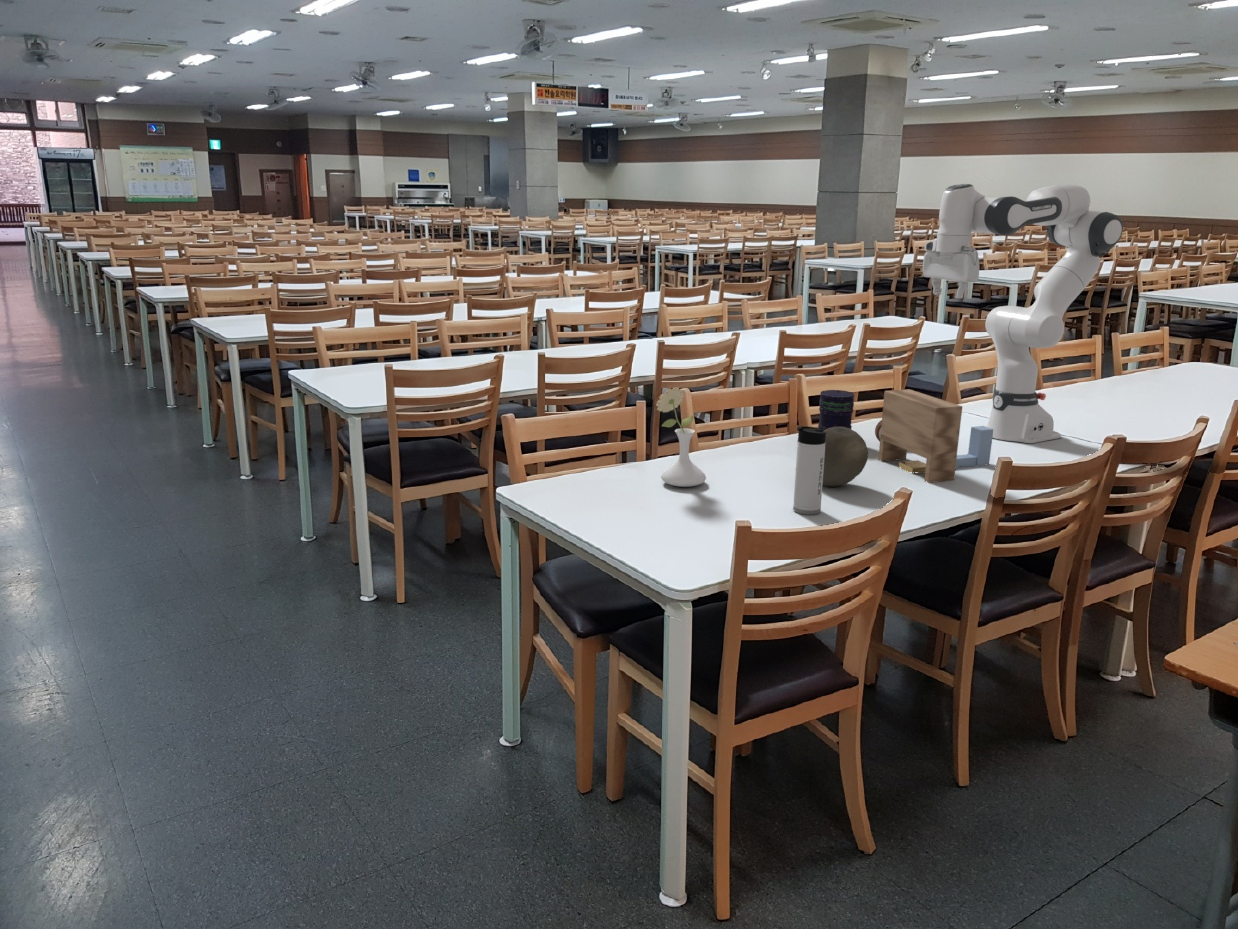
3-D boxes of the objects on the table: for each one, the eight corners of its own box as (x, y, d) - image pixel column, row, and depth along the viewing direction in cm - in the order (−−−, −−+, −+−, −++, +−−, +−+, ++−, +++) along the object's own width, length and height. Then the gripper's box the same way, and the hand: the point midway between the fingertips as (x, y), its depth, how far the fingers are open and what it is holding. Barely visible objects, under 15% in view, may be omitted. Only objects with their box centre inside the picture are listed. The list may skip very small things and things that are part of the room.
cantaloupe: (818, 495, 226) (823, 435, 222) (799, 478, 239) (802, 422, 235) (873, 493, 228) (878, 434, 224) (850, 476, 241) (855, 420, 237)
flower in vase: (698, 476, 241) (701, 381, 234) (711, 489, 230) (715, 390, 223) (649, 478, 238) (651, 383, 231) (660, 492, 227) (663, 392, 220)
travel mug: (788, 506, 218) (793, 424, 212) (816, 506, 218) (821, 423, 212) (795, 515, 212) (801, 430, 206) (823, 515, 212) (830, 430, 206)
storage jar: (848, 448, 268) (853, 397, 264) (814, 445, 271) (818, 395, 267) (852, 440, 277) (856, 391, 273) (818, 437, 280) (822, 388, 276)
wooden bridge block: (903, 457, 259) (910, 389, 254) (955, 479, 239) (963, 406, 234) (878, 460, 257) (884, 390, 251) (927, 482, 237) (935, 408, 231)
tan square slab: (917, 467, 252) (917, 460, 251) (931, 473, 246) (931, 466, 246) (898, 469, 250) (899, 462, 249) (912, 475, 244) (912, 468, 244)
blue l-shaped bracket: (979, 460, 257) (983, 425, 254) (988, 464, 253) (993, 429, 250) (932, 465, 252) (935, 429, 249) (941, 469, 248) (945, 433, 245)
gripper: (988, 247, 246) (982, 299, 250) (939, 243, 265) (934, 292, 269) (968, 247, 244) (962, 300, 248) (920, 243, 263) (916, 293, 267)
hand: (947, 296), depth 259 cm, fingers open, 8 cm apart
